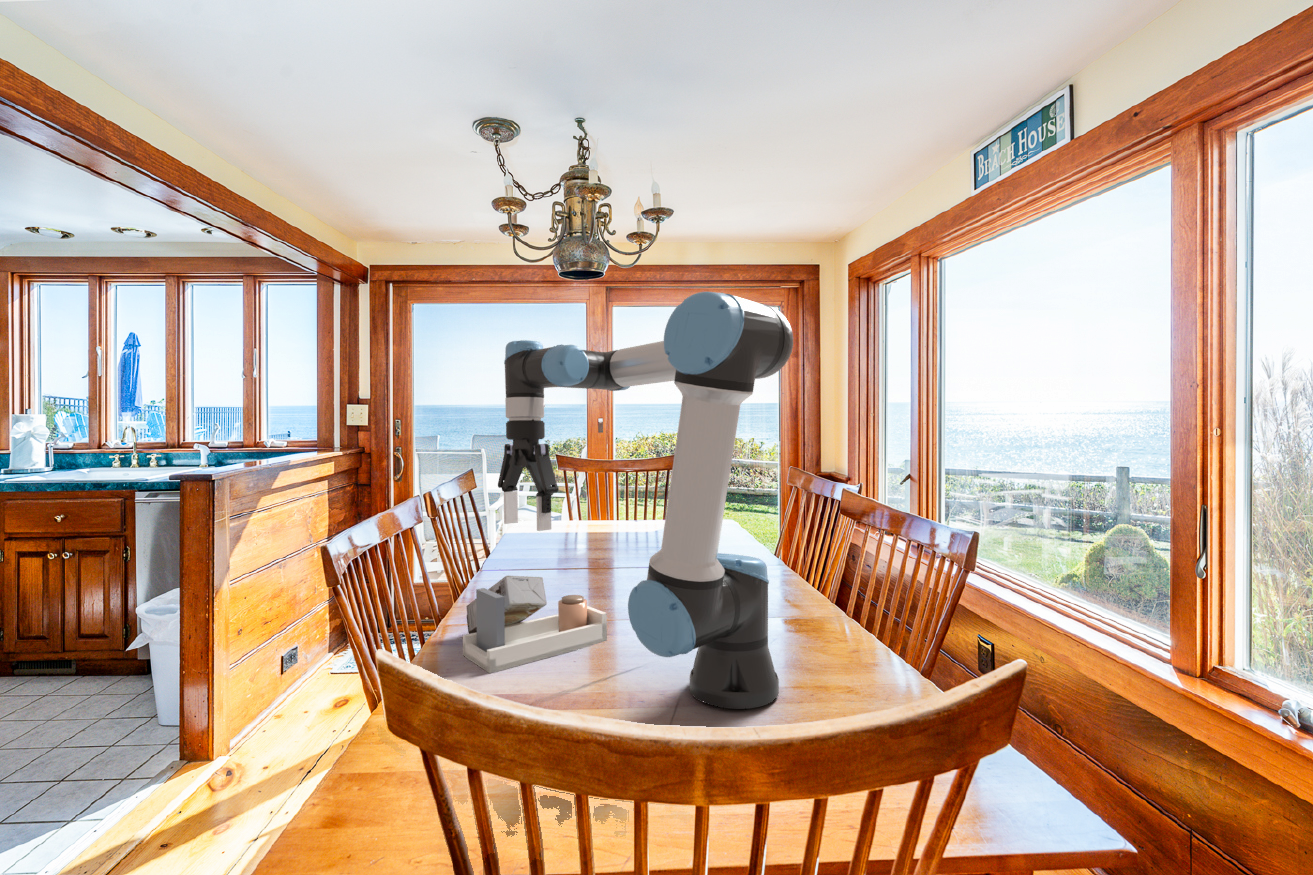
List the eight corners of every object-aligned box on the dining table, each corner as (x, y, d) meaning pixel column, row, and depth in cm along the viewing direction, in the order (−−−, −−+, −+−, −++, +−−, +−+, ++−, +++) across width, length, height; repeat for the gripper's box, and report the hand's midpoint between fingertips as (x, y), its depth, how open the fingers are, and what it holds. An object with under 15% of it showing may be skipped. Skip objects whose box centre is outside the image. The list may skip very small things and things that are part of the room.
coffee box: (548, 605, 128) (506, 634, 137) (543, 576, 131) (502, 606, 140) (508, 604, 122) (468, 634, 131) (504, 574, 125) (465, 605, 134)
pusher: (504, 658, 117) (504, 596, 117) (496, 661, 116) (496, 598, 116) (484, 646, 124) (484, 587, 124) (476, 648, 123) (476, 589, 123)
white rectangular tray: (607, 641, 131) (606, 613, 130) (489, 673, 114) (489, 640, 114) (575, 628, 140) (575, 601, 140) (463, 655, 123) (462, 625, 123)
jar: (592, 635, 132) (592, 598, 132) (568, 641, 128) (568, 603, 128) (577, 628, 136) (576, 592, 136) (553, 634, 133) (552, 597, 133)
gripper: (575, 418, 118) (577, 531, 118) (513, 421, 137) (514, 518, 137) (539, 417, 113) (541, 535, 113) (480, 421, 132) (482, 522, 132)
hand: (526, 526), depth 125 cm, fingers open, 13 cm apart
